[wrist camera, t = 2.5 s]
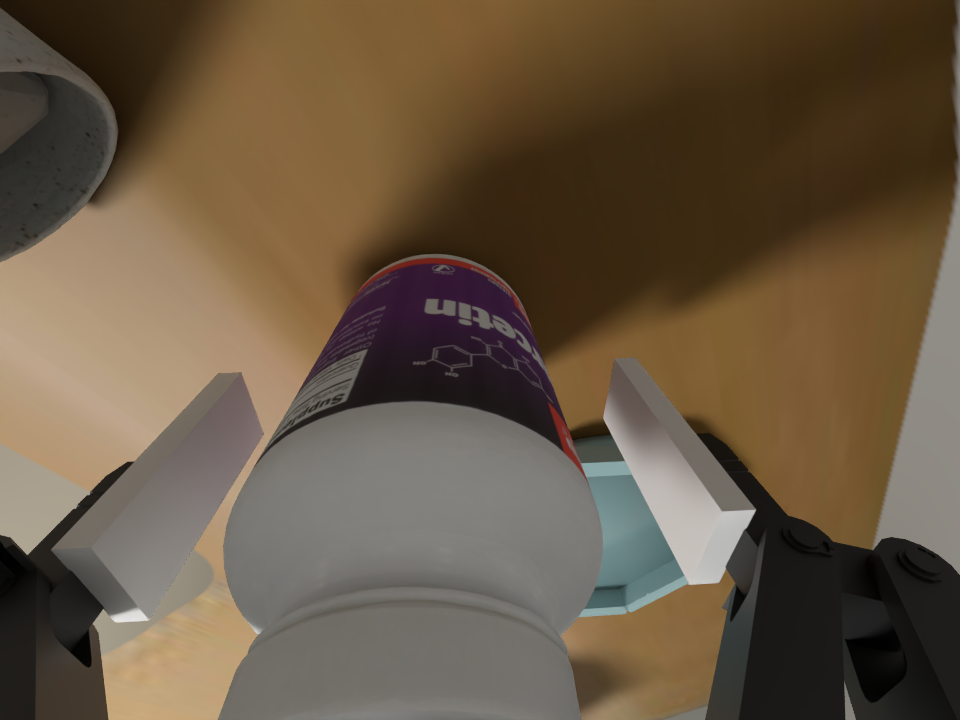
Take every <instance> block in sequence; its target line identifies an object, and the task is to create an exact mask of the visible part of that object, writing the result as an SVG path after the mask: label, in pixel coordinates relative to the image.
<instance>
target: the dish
mask: <svg viewBox="0 0 960 720" xmlns="http://www.w3.org/2000/svg"><path fill="white" fill-rule="evenodd" d="M572 441H573V443H574V446H575V449H576V451H577V454H578V457H579V459H580V462H581V464H582V467H583V470H584V473H585V475H586V478H587V481H588V483H589V486H590V489H591V492H592V495H593V498H594V500H595V503H596V506H597V509H598V512H599V516H600V522H601V527H602V532H603V553H602V563H601V569H600V573H599V576H598V579H597V583H596V586H595V589H594V591H593V593H592V595H591V597H590V599H589V601H588V603H587V605H586V607H585V608H584V610H583V611H582V612H581V614H580V615H579V617H586V616H601V615H616V614H626V612H627V610H628V611H630V612H633V611H635V610H637V609H639V608H641V607H643V606H645V605H647V604H649V603H651V602H653V601H655V600H656V599H658V598H660V597H662V596H664V595H666V594H668V593H670V592H672V591H674V590H676V589H678V588H680V587H682V586H684V585H686V584H688V581H687V579H686V577H685V576H684V574H683V572H682V570H681V568H680V566H679V564H678V562H677V560H676V558H675V556H674V554H673V552H672V550H671V548H670V547H669V545H668V543H667V541H666V539H665V537H664V535H663V533H662V531H661V529H660V527H659V525H658V523H657V521H656V520H655V518H654V516H653V514H652V512H651V510H650V508H649V506H648V504H647V502H646V500H645V498H644V496H643V494H642V492H641V491H640V489H639V487H638V485H637V483H636V481H635V479H634V477H633V475H632V473H631V471H630V469H629V467H628V465H627V464H626V462H625V460H624V458H623V456H622V454H621V452H620V450H619V448H618V446H617V444H616V442H615V440H614V438H613V436H612V435H601V436H592V437H586V438H581V439H576V440H572Z"/></svg>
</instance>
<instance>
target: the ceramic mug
mask: <svg viewBox="0 0 960 720" xmlns="http://www.w3.org/2000/svg"><path fill="white" fill-rule="evenodd" d="M117 136H118V127H117V121H116V116H115V111H114V109H113V107H112V105H111V104H110V102H109V100H108V98H107V96H106V95H105V94H104V92H103V91H102V90H101V89H100V87H99V86H98V85H97V84H96V83H95V82H94V81H93V80H92V79H91V78H90V77H89V76H88V75H87V74H86V73H85V72H83V71H82V70H81V69H79V68H78V67H77V66H75V65H74V64H72V63H71V62H70V61H68V60H67V59H66V58H64V57H63V56H62V55H60V54H59V53H58V52H56V51H55V50H54V49H52V48H51V47H50V46H48V45H47V44H46V43H44V42H43V41H42V40H40V39H39V38H38V37H37V36H35V35H34V34H33V33H32V32H30V31H29V30H28V29H26V28H25V27H24V26H23V25H21V24H20V23H19V22H18V21H16V20H15V19H14V18H13V17H11V16H10V15H9V14H8V13H6V12H5V11H4V10H3V9H1V8H0V262H2V261H4V260H7V259H9V258H11V257H13V256H14V255H17V254H19V253H21V252H23V251H26V250H28V249H29V248H31V247H32V246H34V245H36V244H37V243H39V242H40V241H42V240H43V239H44V238H46V237H47V236H49V235H50V234H52V233H53V232H55V231H56V230H58V229H59V228H60V227H61V226H62V225H63V224H64V223H66V222H67V221H68V220H70V219H71V218H72V217H73V216H74V215H75V214H77V213H78V212H79V211H80V210H81V209H82V208H83V207H84V206H85V204H86V203H87V202H88V200H89V199H90V198H91V196H92V195H93V194H94V192H95V191H96V189H97V188H98V186H99V184H100V183H101V182H102V180H103V179H104V177H105V176H106V173H107V171H108V169H109V167H110V165H111V163H112V160H113V155H114V153H115V151H116V145H117Z"/></svg>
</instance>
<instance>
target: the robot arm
mask: <svg viewBox="0 0 960 720" xmlns="http://www.w3.org/2000/svg"><path fill="white" fill-rule="evenodd" d="M603 419H604V421H605V423H606V425H607V427H608V429H609V431H610V433H611V435H612V436H613V438H614V440H615V442H616V444H617V446H618V448H619V450H620V452H621V454H622V456H623V458H624V460H625V462H626V464H627V465H628V467H629V469H630V471H631V473H632V475H633V477H634V479H635V481H636V483H637V485H638V487H639V489H640V491H641V492H642V494H643V496H644V498H645V500H646V502H647V504H648V506H649V508H650V510H651V512H652V514H653V516H654V518H655V520H656V521H657V523H658V525H659V527H660V529H661V531H662V533H663V535H664V537H665V539H666V541H667V543H668V545H669V547H670V548H671V550H672V552H673V554H674V556H675V558H676V560H677V562H678V564H679V566H680V568H681V570H682V572H683V574H684V576H685V577H686V579H687V581H688V583H689V585H694V584H710V583H719V581H720V579H721V577H722V576H723V574H724V572H725V570H726V569H727V570H728V572H729V574H730V575H731V577H732V578H733V580H734V582H735V585H734V587H733V589H732V591H731V593H730V594H729V596H728V598H727V600H726V602H725V604H724V605H723V607H722V608H723V609H725V610H728V611H727V615H726V620H725V625H724V630H723V635H722V640H721V645H720V650H719V655H718V660H717V665H716V670H715V674H714V679H713V684H712V689H711V694H710V699H709V704H708V710H707V714H706V719H705V720H845V696H844V681H845V684H846V688H847V690H848V694H849V697H850V701H851V704H852V707H853V711H854V714H855V717H856V720H960V575H959V574H958V573H957V571H956V570H955V569H954V568H953V567H952V566H951V565H950V564H949V563H947V562H946V561H945V560H944V559H942V558H941V557H940V556H939V555H937V554H936V553H934V552H932V551H930V550H929V549H927V548H925V547H923V546H921V545H919V544H916V543H914V542H911V541H908V540H906V539H900V538H893V537H890V538H886V539H882V540H881V541H880V542H879V544H878V545H877V546H876V547H875V549H874V550H869V549H864V548H860V547H855V546H850V545H846V544H841V543H836V542H833V541H832V540H831V539H830V538H829V537H828V536H827V535H826V534H825V533H823V532H822V531H821V530H820V529H818V528H817V527H815V526H813V525H812V524H810V523H808V522H806V521H804V520H801V519H798V518H794V517H791V516H788V515H787V514H786V513H785V512H784V511H783V510H782V508H781V507H780V506H779V505H778V504H777V503H776V501H775V500H774V499H773V498H772V497H771V496H770V495H769V493H768V492H767V491H766V490H765V489H764V488H763V486H762V485H761V484H760V483H759V482H758V481H757V479H756V478H755V477H754V476H753V475H752V474H751V473H749V472H748V469H747V468H746V467H745V466H744V464H743V463H742V462H741V461H739V460H738V457H737V456H736V455H735V454H734V453H733V452H732V451H731V449H730V448H729V447H728V446H727V445H726V444H725V443H723V442H722V441H720V440H719V439H717V438H716V437H714V436H713V435H711V434H710V433H705V434H696V433H695V432H694V431H693V430H692V428H691V427H690V426H689V425H688V423H687V422H686V421H685V419H684V418H683V417H682V416H681V414H680V413H679V412H678V411H677V409H676V408H675V407H674V406H673V404H672V403H671V402H670V401H669V399H668V398H667V397H666V396H665V394H664V393H663V392H662V391H661V389H660V388H659V387H658V385H657V384H656V383H655V382H654V380H653V379H652V378H651V377H650V375H649V374H648V373H647V372H646V370H645V369H644V368H643V367H642V365H641V364H640V363H639V362H638V360H637V359H636V358H615V359H614V365H613V370H612V375H611V381H610V386H609V391H608V396H607V402H606V407H605V412H604V418H603ZM263 434H264V433H263V430H262V428H261V425H260V422H259V419H258V417H257V414H256V411H255V409H254V406H253V403H252V400H251V398H250V395H249V392H248V389H247V387H246V384H245V381H244V379H243V376H242V373H218V374H217V375H216V376H215V377H214V379H213V380H212V381H211V382H210V383H209V384H208V385H207V386H206V387H205V388H204V389H203V390H202V391H201V392H200V393H199V394H198V395H197V396H196V397H195V399H194V400H193V401H192V402H191V403H190V404H189V405H188V406H187V407H186V408H185V409H184V410H183V411H182V412H181V413H180V414H179V415H178V416H177V417H176V419H175V420H174V421H173V422H172V423H171V424H170V425H169V426H168V427H167V428H166V429H165V430H164V431H163V432H162V433H161V434H160V435H159V436H158V437H157V439H156V440H155V441H154V442H153V443H152V444H151V445H150V446H149V447H148V448H147V449H146V450H145V451H144V452H143V453H142V454H141V455H140V456H139V457H138V459H137V460H136V461H135V462H127V463H125V464H124V465H122V466H121V467H119V468H118V469H116V470H115V471H113V472H112V473H110V474H109V475H107V476H106V477H105V478H104V479H103V480H102V481H101V482H100V483H99V484H98V485H97V486H96V487H95V488H94V489H93V490H92V491H91V492H90V495H87V496H86V497H85V498H84V499H83V500H82V501H81V502H80V503H79V504H78V505H77V508H76V509H73V510H72V511H71V512H70V513H69V514H68V515H67V516H66V517H65V518H64V519H63V520H62V521H61V522H60V523H59V524H58V525H57V526H56V527H55V528H54V529H53V530H52V531H51V532H50V533H49V534H48V535H47V536H46V537H45V538H44V539H43V540H42V541H41V542H40V543H39V544H38V545H37V546H36V547H35V548H34V549H33V550H32V551H31V552H30V553H29V554H28V555H26V554H25V552H24V551H23V550H22V549H21V548H20V547H19V546H18V545H17V544H16V543H15V542H14V541H13V540H12V539H11V538H10V537H6V536H1V535H0V720H108V713H107V704H106V695H105V687H104V678H103V669H102V660H101V652H100V643H99V634H98V632H97V630H96V628H95V626H94V625H93V622H94V621H95V619H96V618H97V617H98V615H99V614H100V613H101V611H102V610H103V609H104V610H105V611H106V612H107V614H108V615H109V616H110V617H111V618H112V619H113V620H114V621H115V622H131V621H146V620H150V618H151V617H152V615H153V613H154V612H155V610H156V609H157V607H158V605H159V604H160V602H161V600H162V599H163V597H164V595H165V594H166V592H167V591H168V589H169V587H170V586H171V584H172V583H173V581H174V579H175V578H176V576H177V574H178V573H179V571H180V569H181V568H182V566H183V564H184V563H185V561H186V560H187V558H188V556H189V555H190V553H191V552H192V550H193V548H194V547H195V545H196V543H197V542H198V540H199V539H200V537H201V535H202V534H203V532H204V530H205V529H206V527H207V526H208V524H209V522H210V521H211V519H212V517H213V516H214V514H215V513H216V511H217V509H218V508H219V506H220V504H221V503H222V501H223V500H224V498H225V496H226V495H227V493H228V491H229V490H230V488H231V486H232V485H233V483H234V482H235V480H236V478H237V477H238V475H239V473H240V472H241V470H242V469H243V467H244V465H245V464H246V462H247V460H248V459H249V457H250V456H251V454H252V452H253V451H254V449H255V447H256V446H257V444H258V443H259V441H260V439H261V438H262V436H263Z"/></svg>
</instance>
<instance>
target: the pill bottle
mask: <svg viewBox="0 0 960 720" xmlns="http://www.w3.org/2000/svg"><path fill="white" fill-rule="evenodd" d="M223 549H224V569H225V574H226V578H227V582H228V586H229V589H230V591H231V594H232V597H233V599H234V601H235V603H236V605H237V607H238V609H239V610H240V612H241V614H242V615H243V617H244V618H245V619H246V621H247V622H248V623H249V624H250V626H251V627H252V628H253V629H254V631H255V632H256V633H257V634H258V636H257V637H256V638H255V640H254V642H253V643H252V645H251V646H250V648H249V651H248V654H247V656H246V657H245V658H244V659H243V660H242V662H241V663H240V665H239V666H238V668H237V670H236V672H235V675H234V677H233V680H232V683H231V686H230V689H229V691H228V694H227V697H226V699H225V702H224V705H223V707H222V710H221V713H220V715H219V718H218V720H582V719H581V714H580V709H579V703H578V698H577V693H576V687H575V681H574V675H573V670H572V667H571V663H570V662H569V660H568V652H567V648H566V645H565V643H564V641H563V640H562V638H561V637H560V636H561V635H562V634H563V633H564V632H565V631H566V630H567V629H568V628H569V627H570V626H571V625H572V624H573V623H574V622H575V621H576V619H577V618H578V617H579V615H580V614H581V612H582V611H583V610H584V608H585V607H586V605H587V603H588V601H589V599H590V597H591V595H592V593H593V591H594V589H595V586H596V583H597V579H598V576H599V573H600V569H601V563H602V553H603V532H602V527H601V522H600V516H599V512H598V509H597V506H596V503H595V500H594V498H593V495H592V492H591V489H590V486H589V483H588V481H587V478H586V475H585V473H584V470H583V467H582V464H581V462H580V459H579V457H578V454H577V451H576V449H575V446H574V443H573V441H572V438H571V435H570V433H569V430H568V427H567V424H566V422H565V419H564V416H563V414H562V411H561V408H560V405H559V403H558V400H557V397H556V394H555V392H554V389H553V386H552V383H551V380H550V378H549V375H548V372H547V370H546V367H545V364H544V361H543V358H542V356H541V353H540V350H539V347H538V344H537V342H536V339H535V336H534V333H533V330H532V327H531V324H530V321H529V319H528V316H527V314H526V312H525V309H524V307H523V305H522V303H521V302H520V300H519V298H518V297H517V295H516V294H515V293H514V291H513V290H512V289H511V288H510V286H509V285H508V284H507V283H506V282H505V281H504V280H503V279H501V278H500V277H499V276H498V275H497V274H495V273H494V272H492V271H491V270H489V269H488V268H486V267H484V266H482V265H480V264H478V263H476V262H473V261H471V260H468V259H465V258H462V257H457V256H452V255H446V254H424V255H417V256H412V257H408V258H404V259H402V260H399V261H396V262H394V263H392V264H390V265H388V266H386V267H384V268H383V269H381V270H380V271H378V272H377V273H375V274H374V275H373V276H372V277H371V278H369V279H368V280H367V281H366V282H365V283H364V284H363V286H362V287H361V288H360V289H359V291H358V292H357V293H356V295H355V296H354V297H353V299H352V300H351V302H350V304H349V306H348V307H347V309H346V311H345V313H344V315H343V316H342V318H341V320H340V321H339V323H338V325H337V326H336V328H335V330H334V332H333V333H332V335H331V337H330V339H329V340H328V342H327V344H326V346H325V347H324V349H323V351H322V352H321V354H320V356H319V357H318V359H317V361H316V363H315V364H314V366H313V368H312V369H311V371H310V373H309V375H308V376H307V378H306V380H305V382H304V383H303V385H302V387H301V388H300V390H299V392H298V394H297V395H296V397H295V399H294V401H293V402H292V404H291V406H290V407H289V409H288V411H287V413H286V414H285V416H284V418H283V419H282V421H281V423H280V424H279V426H278V428H277V429H276V431H275V433H274V435H273V436H272V438H271V440H270V441H269V443H268V445H267V446H266V448H265V450H264V451H263V453H262V454H261V456H260V458H259V459H258V461H257V463H256V465H255V466H254V468H253V470H252V472H251V473H250V475H249V477H248V479H247V480H246V482H245V484H244V486H243V487H242V489H241V491H240V493H239V495H238V497H237V499H236V501H235V503H234V505H233V508H232V511H231V513H230V516H229V519H228V523H227V526H226V532H225V539H224V545H223Z"/></svg>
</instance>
